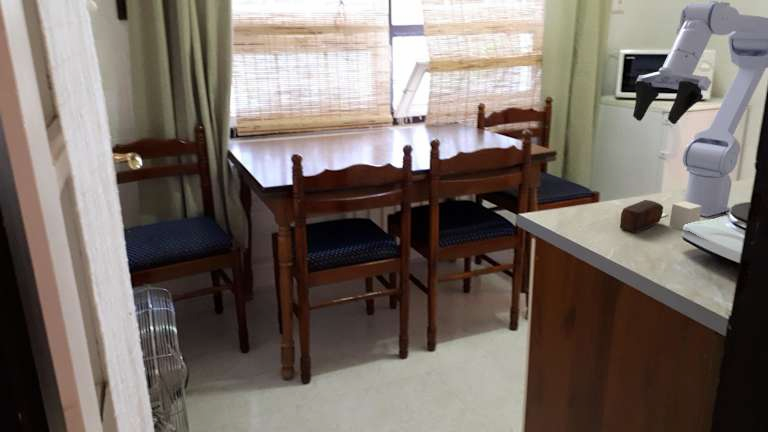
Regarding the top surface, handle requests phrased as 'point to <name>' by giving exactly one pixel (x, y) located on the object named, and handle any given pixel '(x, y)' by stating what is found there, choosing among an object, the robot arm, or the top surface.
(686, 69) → the robot arm
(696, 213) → the cream block
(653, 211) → the brick
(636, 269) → the top surface
